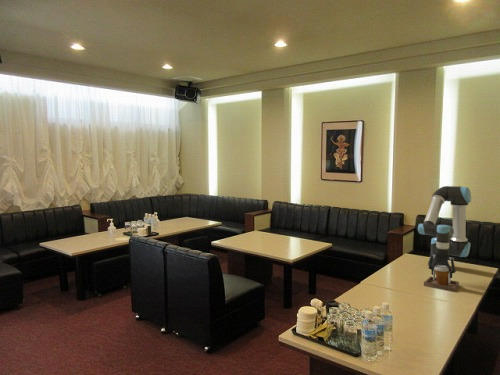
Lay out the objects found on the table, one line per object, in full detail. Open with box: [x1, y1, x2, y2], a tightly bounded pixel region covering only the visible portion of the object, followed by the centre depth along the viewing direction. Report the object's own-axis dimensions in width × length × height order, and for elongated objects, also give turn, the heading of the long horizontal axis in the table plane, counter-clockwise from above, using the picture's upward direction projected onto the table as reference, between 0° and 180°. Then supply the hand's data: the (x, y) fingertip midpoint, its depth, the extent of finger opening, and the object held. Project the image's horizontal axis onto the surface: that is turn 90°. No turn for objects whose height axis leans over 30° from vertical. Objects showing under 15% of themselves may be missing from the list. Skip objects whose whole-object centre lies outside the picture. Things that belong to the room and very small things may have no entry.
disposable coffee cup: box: [434, 265, 449, 286], centre depth 240 cm, size 10×10×12 cm
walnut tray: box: [423, 276, 460, 293], centre depth 240 cm, size 16×18×2 cm
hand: (441, 281), depth 240 cm, fingers open, 9 cm apart
